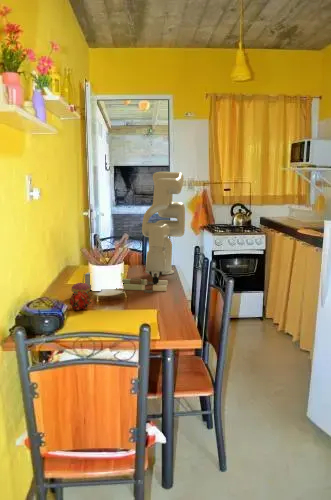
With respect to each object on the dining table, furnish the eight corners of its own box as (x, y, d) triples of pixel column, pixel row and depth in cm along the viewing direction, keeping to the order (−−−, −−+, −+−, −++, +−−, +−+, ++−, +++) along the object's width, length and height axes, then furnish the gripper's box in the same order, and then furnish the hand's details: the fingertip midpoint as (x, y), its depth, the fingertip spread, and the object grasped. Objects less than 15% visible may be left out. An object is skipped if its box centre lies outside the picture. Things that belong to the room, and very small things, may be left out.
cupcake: (83, 294, 201) (83, 270, 199) (93, 298, 195) (93, 273, 193) (67, 297, 195) (67, 272, 193) (78, 301, 189) (77, 275, 187)
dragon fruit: (87, 308, 185) (76, 320, 174) (72, 296, 185) (60, 308, 174) (97, 294, 182) (87, 306, 171) (82, 283, 182) (70, 294, 171)
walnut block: (131, 285, 221) (131, 278, 220) (141, 286, 220) (141, 278, 220) (129, 288, 216) (129, 280, 215) (139, 288, 215) (139, 280, 215)
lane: (120, 283, 224) (120, 278, 224) (167, 285, 223) (167, 280, 223) (116, 289, 212) (116, 284, 212) (166, 291, 211) (166, 286, 211)
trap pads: (147, 282, 228) (147, 281, 228) (155, 282, 228) (155, 282, 228) (143, 292, 207) (143, 291, 207) (151, 292, 207) (151, 292, 207)
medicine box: (102, 289, 211) (102, 272, 209) (100, 292, 206) (100, 274, 205) (87, 289, 212) (87, 272, 210) (84, 291, 207) (84, 274, 206)
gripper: (171, 248, 217) (170, 282, 221) (142, 247, 218) (141, 281, 221) (170, 251, 210) (169, 286, 213) (140, 250, 211) (140, 285, 214)
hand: (155, 284), depth 217 cm, fingers closed
